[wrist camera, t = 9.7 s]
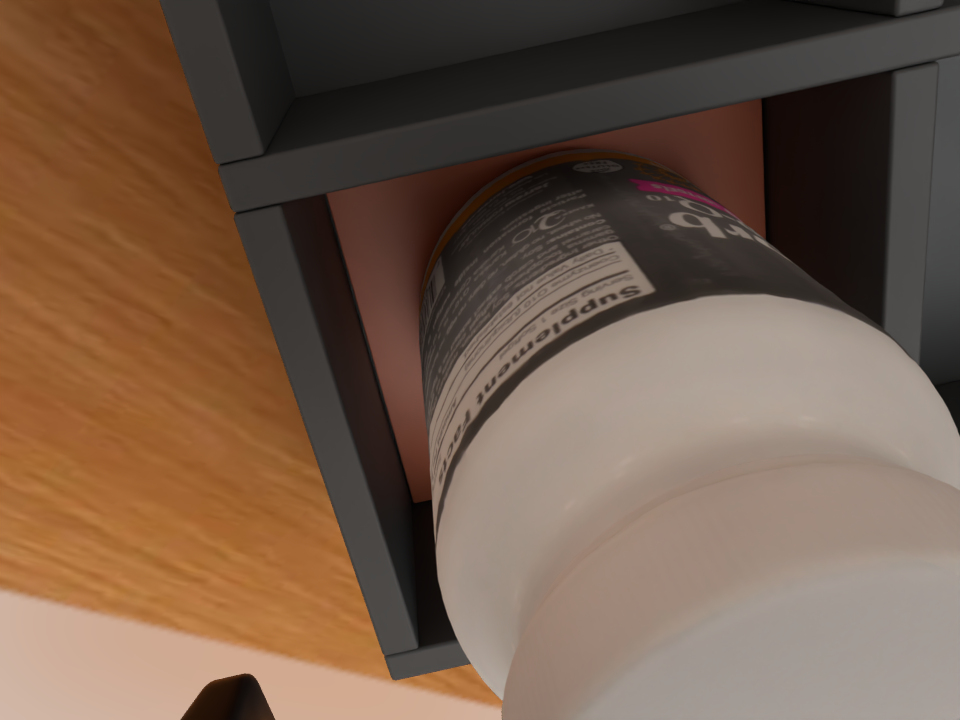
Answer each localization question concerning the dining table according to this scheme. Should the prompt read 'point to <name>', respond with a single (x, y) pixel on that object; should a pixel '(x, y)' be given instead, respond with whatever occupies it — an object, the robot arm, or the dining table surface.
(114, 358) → the dining table surface
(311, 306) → the grid
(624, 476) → the pill bottle
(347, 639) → the dining table surface
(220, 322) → the dining table surface
